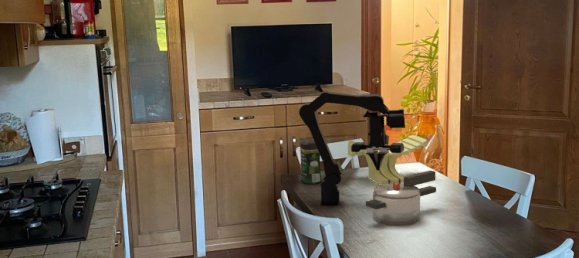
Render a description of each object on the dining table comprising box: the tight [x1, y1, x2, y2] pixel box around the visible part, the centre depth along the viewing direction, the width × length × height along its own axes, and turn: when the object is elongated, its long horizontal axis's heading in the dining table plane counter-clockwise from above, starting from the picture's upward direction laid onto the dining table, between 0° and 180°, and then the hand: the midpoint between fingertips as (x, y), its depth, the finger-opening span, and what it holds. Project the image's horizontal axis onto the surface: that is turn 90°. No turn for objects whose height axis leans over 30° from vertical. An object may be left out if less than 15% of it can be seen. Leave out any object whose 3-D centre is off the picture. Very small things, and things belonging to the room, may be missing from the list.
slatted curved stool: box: [347, 134, 428, 185], centre depth 256 cm, size 30×16×18 cm, turn 105°
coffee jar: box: [299, 138, 322, 185], centre depth 255 cm, size 10×8×19 cm
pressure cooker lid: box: [373, 170, 436, 199], centre depth 206 cm, size 27×15×4 cm, turn 127°
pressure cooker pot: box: [365, 185, 437, 227], centre depth 206 cm, size 31×16×9 cm, turn 126°
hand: (378, 170), depth 219 cm, fingers closed
